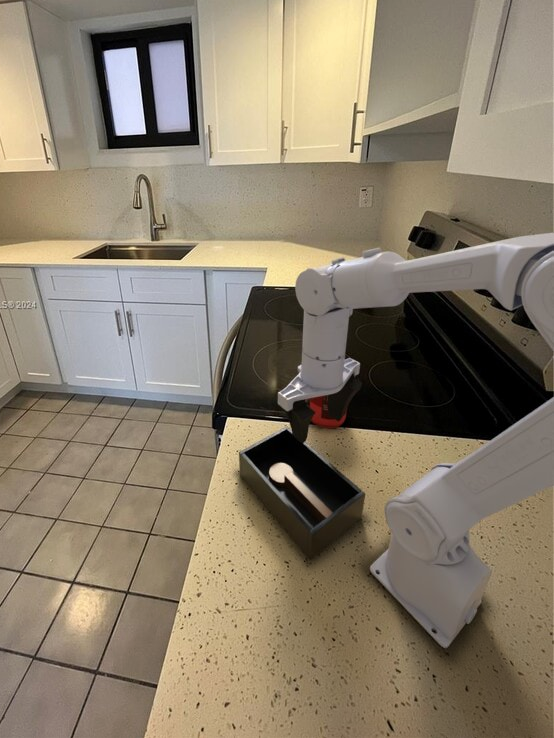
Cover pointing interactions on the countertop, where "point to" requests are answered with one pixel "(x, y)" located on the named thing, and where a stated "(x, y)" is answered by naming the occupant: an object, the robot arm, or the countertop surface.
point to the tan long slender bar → (298, 490)
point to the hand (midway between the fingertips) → (317, 427)
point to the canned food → (323, 412)
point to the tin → (315, 476)
